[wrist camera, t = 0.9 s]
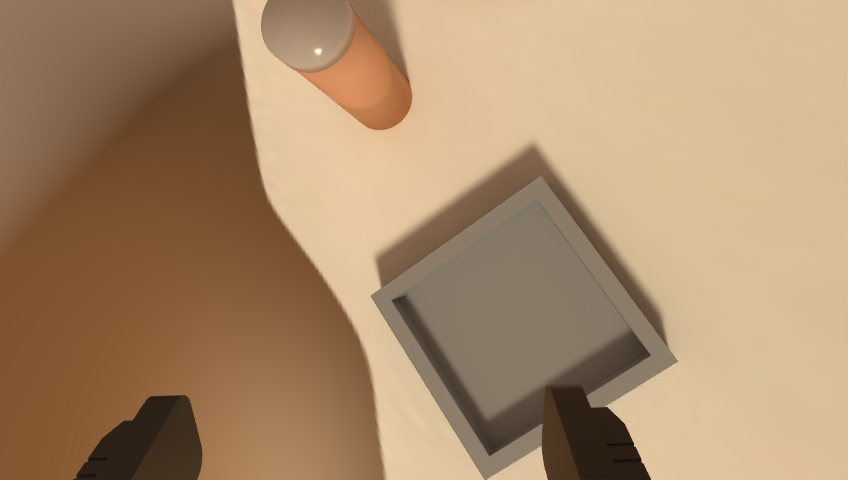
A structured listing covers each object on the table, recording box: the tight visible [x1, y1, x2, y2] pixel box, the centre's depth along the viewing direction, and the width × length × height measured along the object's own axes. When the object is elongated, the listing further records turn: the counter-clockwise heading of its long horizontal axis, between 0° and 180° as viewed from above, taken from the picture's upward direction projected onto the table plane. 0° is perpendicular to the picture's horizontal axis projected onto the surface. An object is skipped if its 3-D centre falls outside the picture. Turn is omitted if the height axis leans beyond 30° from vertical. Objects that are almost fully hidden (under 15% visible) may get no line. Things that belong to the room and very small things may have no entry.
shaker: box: [261, 0, 412, 130], centre depth 34 cm, size 5×5×12 cm
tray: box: [371, 176, 678, 480], centre depth 35 cm, size 13×13×2 cm
